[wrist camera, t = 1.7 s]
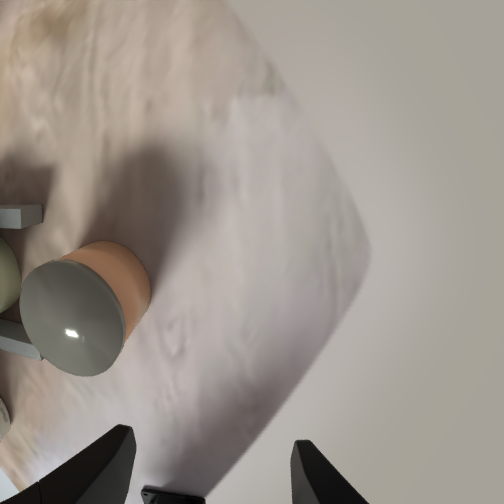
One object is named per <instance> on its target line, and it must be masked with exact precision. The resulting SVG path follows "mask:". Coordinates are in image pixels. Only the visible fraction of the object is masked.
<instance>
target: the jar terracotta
mask: <svg viewBox="0 0 504 504" xmlns="http://www.w3.org/2000/svg"><path fill="white" fill-rule="evenodd" d="M150 298H151V286H150V281H149V277H148V274H147V272H146V270H145V268H144V266H143V265H142V263H141V261H140V260H139V259H138V258H137V257H136V256H135V255H134V254H133V253H132V252H131V251H130V250H129V249H127V248H126V247H124V246H122V245H120V244H118V243H114V242H111V241H97V242H93V243H90V244H88V245H86V246H84V247H82V248H79V249H77V250H75V251H73V252H71V253H69V254H67V255H65V256H63V257H61V258H59V259H56V260H52V261H49V262H47V263H45V264H43V265H41V266H39V267H37V268H35V269H34V270H33V271H32V272H31V273H30V274H29V275H28V276H27V277H26V279H25V281H24V283H23V286H22V288H21V293H20V301H19V302H20V314H21V318H22V322H23V325H24V328H25V330H26V333H27V335H28V337H29V338H30V340H31V342H32V343H33V345H34V346H35V348H36V349H37V350H38V351H39V353H40V354H41V355H42V356H43V357H44V358H45V359H46V360H48V361H49V362H50V363H51V364H53V365H54V366H56V367H57V368H59V369H61V370H63V371H65V372H67V373H70V374H73V375H77V376H95V375H98V374H101V373H103V372H105V371H106V370H107V369H109V368H110V367H111V366H112V365H113V363H114V362H115V360H116V359H117V357H118V356H119V354H120V353H121V351H122V349H123V346H124V343H125V342H126V340H127V339H128V337H129V336H130V335H131V333H132V332H133V330H134V329H135V327H136V326H137V324H138V323H139V322H140V320H141V319H142V317H143V316H144V314H145V313H146V311H147V309H148V307H149V303H150Z"/></svg>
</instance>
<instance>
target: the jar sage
mask: <svg viewBox="0 0 504 504" xmlns="http://www.w3.org/2000/svg"><path fill="white" fill-rule="evenodd" d="M20 289H21V276H20V270H19V266H18V263H17V260H16V258H15V255H14V253H13V251H12V250H11V248H10V247H9V245H8V244H7V243H6V242H5V241H4V240H3V239H2V238H1V237H0V313H2V312H3V311H5V310H6V309H8V308H9V307H11V306H12V305H13V304H15V302H16V301H17V299H18V297H19V294H20Z"/></svg>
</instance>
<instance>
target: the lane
mask: <svg viewBox="0 0 504 504" xmlns="http://www.w3.org/2000/svg"><path fill="white" fill-rule="evenodd" d="M39 223H43V218H42V205H0V228H15V229H22V228H26V227H29V226H32V225H36V224H39ZM0 349H2V350H6V351H9V352H12V353H15V354H19V355H22V356H25V357H29V358H32V359H36V360H40V361H42V360H43V359H44V357H43V356H42V355H41V354H40V353H39V351H38V350H37V349H36V348H35V346H34V345H33V343H32V342H31V340H30V338H29V337H28V335H27V333H26V330H25V328H24V325H23V324H21V323H17V322H13V321H9V320H5V319H1V318H0Z"/></svg>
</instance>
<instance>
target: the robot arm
mask: <svg viewBox="0 0 504 504" xmlns="http://www.w3.org/2000/svg"><path fill="white" fill-rule="evenodd" d="M135 454H136V441H135V437H134V432H133V429H132V427H131V426H127V425H122V424H118V425H116V426H115V427H114V428H112V429H111V430H110V431H108V432H107V433H106V434H104V435H103V436H101V437H100V438H99V439H97V440H96V441H95V442H93V443H92V444H90V445H89V446H88V447H86V448H85V449H83V450H82V451H81V452H79V453H78V454H76V455H75V456H74V457H72V458H71V459H69V460H68V461H67V462H65V463H64V464H62V465H61V466H59V467H58V468H56V469H55V470H54V471H52V472H51V473H49V474H48V475H46V476H45V477H43V478H42V479H40V480H39V482H36V483H34V484H33V485H31V486H30V487H28V488H26V489H25V490H23V491H21V492H20V493H18V494H16V495H14V496H13V497H11V498H9V499H7V500H5V501H3V502H0V504H124V503H125V500H126V497H127V493H128V490H129V485H130V479H131V474H132V469H133V464H134V459H135ZM291 484H292V503H293V504H369V503H368V502H367V501H366V500H365V499H364V498H363V497H362V496H361V495H360V494H359V493H358V492H357V491H356V490H355V489H354V488H353V487H352V486H351V485H350V483H348V481H347V480H346V479H345V478H344V477H343V476H342V475H341V474H340V473H339V472H338V471H337V469H336V468H335V467H334V466H333V465H332V464H331V463H330V462H329V461H328V460H327V459H326V458H325V456H324V455H323V454H322V453H321V452H320V451H319V450H318V449H317V448H316V446H315V445H314V444H313V443H312V442H311V441H310V440H296V441H295V443H294V447H293V451H292V455H291ZM141 496H142V499H143V502H144V504H206V502H205V499H204V498H201V497H193V496H185V495H177V494H170V493H164V492H158V491H152V490H147V489H142V490H141Z"/></svg>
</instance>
